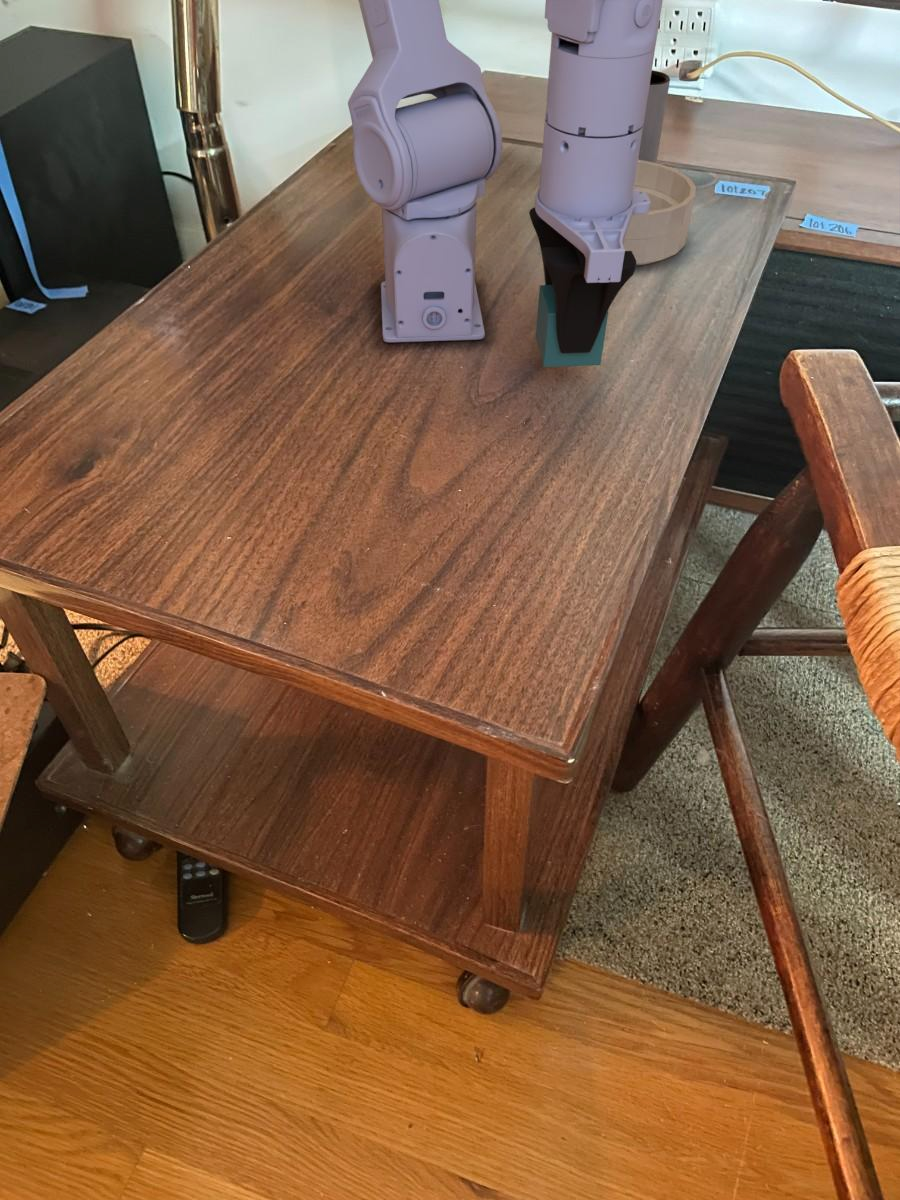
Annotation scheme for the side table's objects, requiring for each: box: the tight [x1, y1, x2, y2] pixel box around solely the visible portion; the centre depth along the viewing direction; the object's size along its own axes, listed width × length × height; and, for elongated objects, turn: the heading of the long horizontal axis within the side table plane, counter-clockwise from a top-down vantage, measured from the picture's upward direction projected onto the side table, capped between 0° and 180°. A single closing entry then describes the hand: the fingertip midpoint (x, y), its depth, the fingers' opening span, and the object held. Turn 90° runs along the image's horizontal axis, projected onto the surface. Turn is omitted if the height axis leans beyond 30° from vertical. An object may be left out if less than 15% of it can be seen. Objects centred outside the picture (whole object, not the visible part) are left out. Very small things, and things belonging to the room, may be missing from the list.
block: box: [534, 284, 609, 368], centre depth 61 cm, size 4×4×4 cm
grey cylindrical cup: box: [638, 69, 671, 163], centre depth 87 cm, size 4×4×10 cm
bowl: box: [623, 160, 697, 267], centre depth 81 cm, size 13×13×5 cm
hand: (569, 333), depth 61 cm, fingers closed on block, 4 cm apart
